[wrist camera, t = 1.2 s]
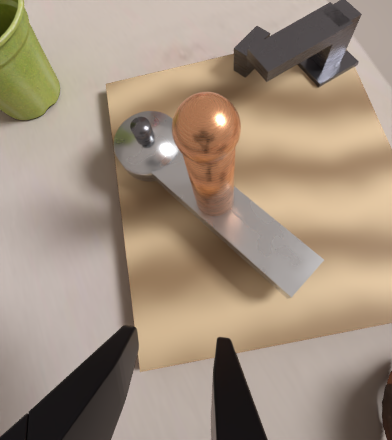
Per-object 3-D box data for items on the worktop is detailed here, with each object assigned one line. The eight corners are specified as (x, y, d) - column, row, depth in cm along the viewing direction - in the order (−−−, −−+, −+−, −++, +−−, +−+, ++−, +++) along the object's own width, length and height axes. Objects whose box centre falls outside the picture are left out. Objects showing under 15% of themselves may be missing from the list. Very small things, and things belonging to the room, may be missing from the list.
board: (451, 309, 21) (463, 308, 20) (144, 369, 22) (140, 372, 21) (333, 40, 29) (337, 29, 28) (110, 92, 30) (105, 83, 29)
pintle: (182, 174, 25) (172, 143, 20) (135, 185, 25) (115, 156, 21) (174, 133, 26) (163, 95, 22) (129, 143, 26) (109, 108, 22)
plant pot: (-9, 67, 33) (-90, -16, 24) (76, 50, 32) (23, -42, 24) (-15, 143, 30) (-109, 77, 21) (78, 125, 29) (18, 50, 21)
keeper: (266, 118, 26) (274, 78, 21) (223, 66, 28) (222, 20, 24) (356, 65, 26) (382, 16, 22) (308, 18, 29) (322, -35, 24)
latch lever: (108, 155, 25) (16, 31, 14) (153, 113, 26) (98, -34, 15) (276, 310, 20) (334, 304, 9) (326, 253, 21) (432, 186, 10)
